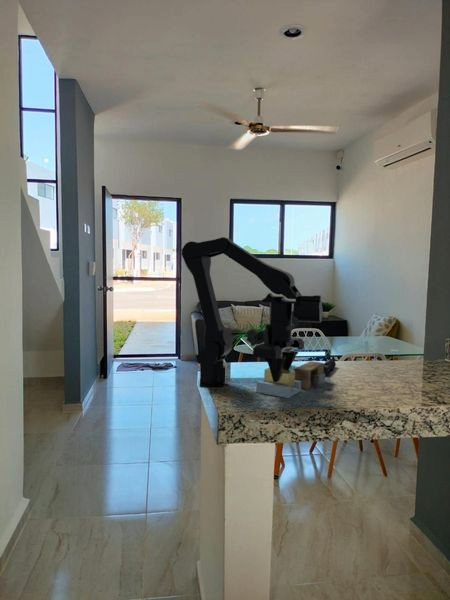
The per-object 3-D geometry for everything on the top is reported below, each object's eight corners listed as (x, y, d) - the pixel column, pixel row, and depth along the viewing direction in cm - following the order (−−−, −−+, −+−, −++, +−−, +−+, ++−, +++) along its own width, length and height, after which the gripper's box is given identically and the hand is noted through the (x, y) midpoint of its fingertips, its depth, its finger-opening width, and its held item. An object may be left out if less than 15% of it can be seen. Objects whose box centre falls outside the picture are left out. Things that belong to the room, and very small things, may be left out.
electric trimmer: (338, 368, 139) (338, 359, 139) (326, 377, 126) (326, 367, 125) (327, 367, 141) (327, 357, 141) (314, 376, 127) (314, 365, 127)
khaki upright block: (264, 382, 110) (264, 369, 110) (271, 380, 113) (271, 367, 113) (287, 387, 106) (288, 373, 105) (294, 385, 108) (295, 371, 108)
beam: (293, 387, 114) (294, 368, 113) (309, 378, 124) (310, 361, 123) (307, 389, 111) (308, 370, 111) (323, 380, 121) (323, 362, 121)
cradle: (256, 392, 108) (256, 382, 108) (270, 385, 115) (270, 375, 115) (288, 398, 104) (288, 387, 103) (301, 390, 110) (301, 381, 110)
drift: (289, 383, 118) (289, 371, 118) (295, 381, 121) (296, 368, 121) (318, 389, 113) (319, 376, 112) (324, 387, 115) (325, 374, 115)
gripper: (269, 315, 120) (267, 369, 121) (235, 321, 105) (233, 382, 106) (305, 318, 114) (303, 374, 115) (275, 324, 99) (273, 390, 100)
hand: (279, 380), depth 109 cm, fingers closed on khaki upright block, 4 cm apart
